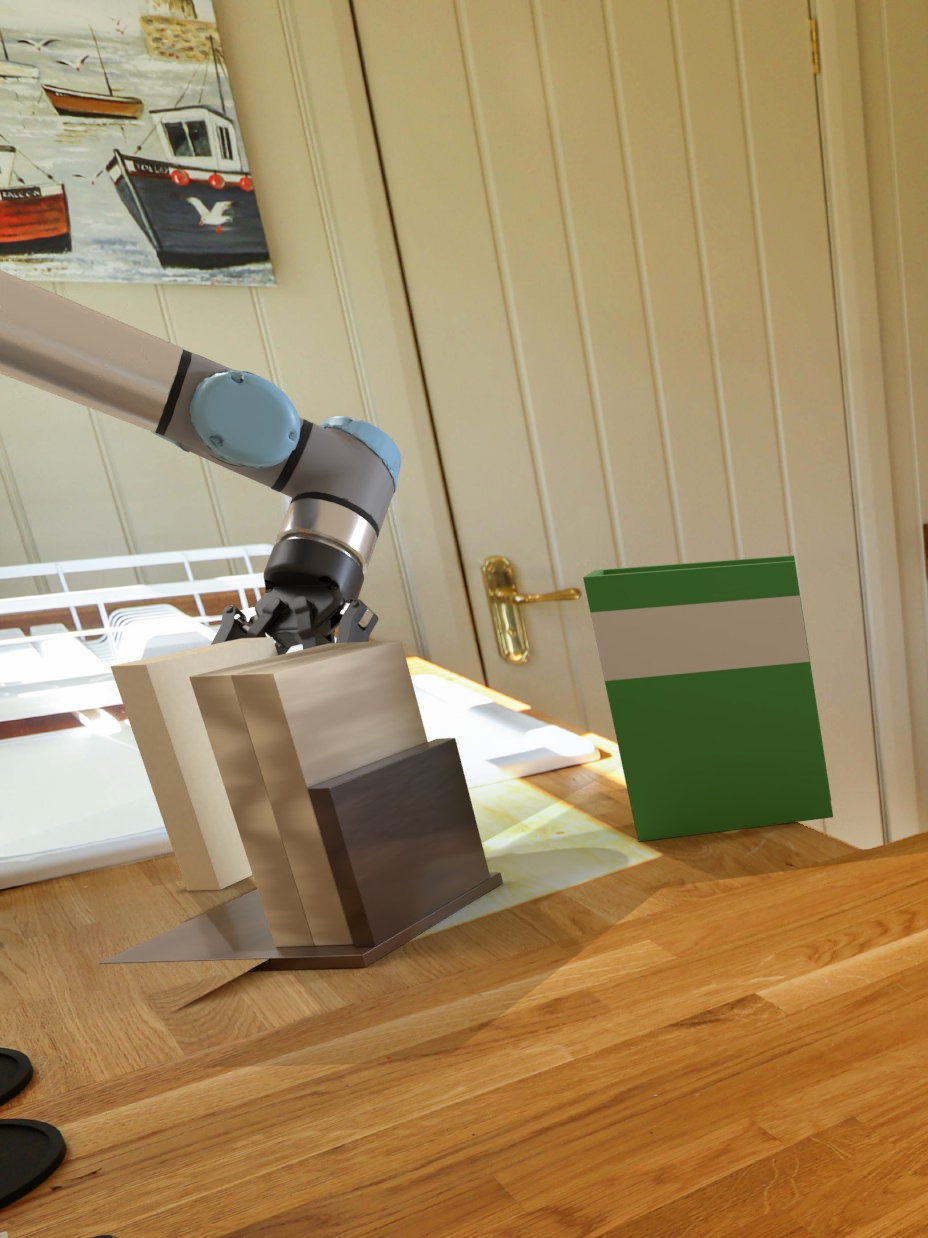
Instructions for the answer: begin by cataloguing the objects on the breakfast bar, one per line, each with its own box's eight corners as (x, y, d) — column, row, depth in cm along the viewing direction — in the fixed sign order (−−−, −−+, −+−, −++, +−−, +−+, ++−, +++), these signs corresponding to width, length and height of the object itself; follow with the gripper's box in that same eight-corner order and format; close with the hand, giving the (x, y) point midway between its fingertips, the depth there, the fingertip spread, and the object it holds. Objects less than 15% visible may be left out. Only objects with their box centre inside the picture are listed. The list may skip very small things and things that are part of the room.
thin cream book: (190, 900, 107) (109, 666, 101) (305, 849, 121) (241, 638, 114) (223, 899, 107) (145, 664, 100) (335, 848, 120) (272, 636, 114)
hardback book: (831, 798, 128) (794, 555, 120) (833, 817, 122) (794, 561, 113) (646, 820, 124) (594, 569, 116) (638, 841, 117) (583, 577, 109)
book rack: (102, 975, 92) (-5, 689, 85) (279, 890, 109) (202, 645, 102) (365, 967, 91) (279, 677, 84) (503, 882, 108) (441, 634, 101)
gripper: (444, 580, 125) (382, 783, 115) (250, 589, 126) (173, 791, 116) (396, 528, 118) (326, 739, 108) (191, 539, 119) (104, 748, 109)
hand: (247, 766), depth 112 cm, fingers open, 7 cm apart
